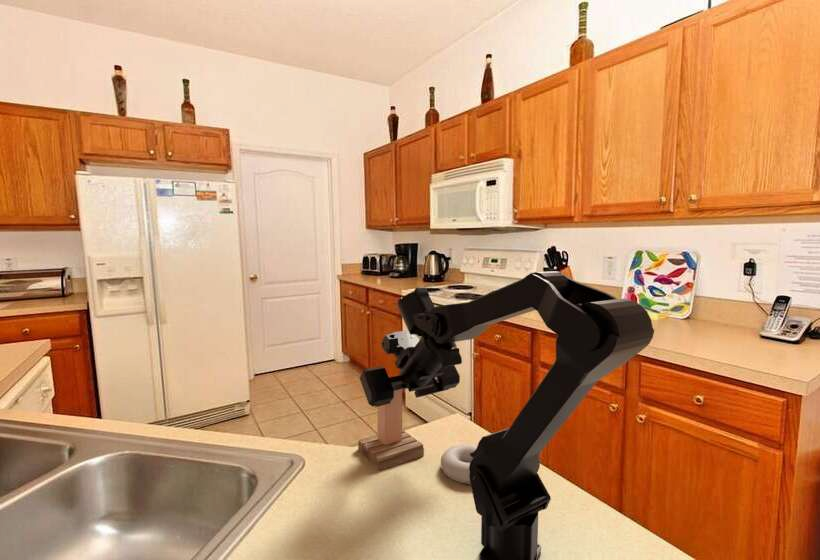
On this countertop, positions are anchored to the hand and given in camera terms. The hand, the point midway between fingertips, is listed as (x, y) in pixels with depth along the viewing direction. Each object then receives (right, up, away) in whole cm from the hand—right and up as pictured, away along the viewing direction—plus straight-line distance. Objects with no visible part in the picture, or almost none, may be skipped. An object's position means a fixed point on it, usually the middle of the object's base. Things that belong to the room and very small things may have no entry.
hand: (396, 399), depth 78 cm
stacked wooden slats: (-1, -11, +2) cm, 11 cm away
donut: (+13, -12, -4) cm, 19 cm away
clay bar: (-1, -9, +3) cm, 9 cm away
